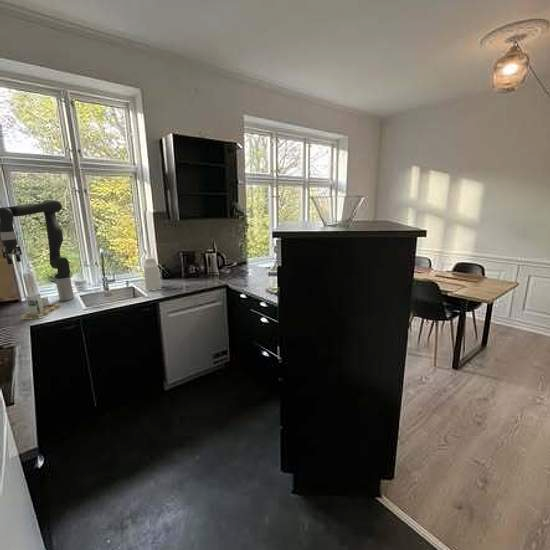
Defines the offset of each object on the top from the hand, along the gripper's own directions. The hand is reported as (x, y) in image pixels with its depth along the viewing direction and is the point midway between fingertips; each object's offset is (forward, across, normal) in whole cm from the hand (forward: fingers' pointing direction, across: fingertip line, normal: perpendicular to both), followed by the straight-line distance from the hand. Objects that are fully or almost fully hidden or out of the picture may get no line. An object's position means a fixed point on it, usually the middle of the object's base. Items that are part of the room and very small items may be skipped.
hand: (14, 263), depth 203 cm
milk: (+34, -37, +77) cm, 92 cm away
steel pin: (+34, +2, +14) cm, 37 cm away
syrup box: (+34, +12, +14) cm, 39 cm away
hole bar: (+34, +7, +14) cm, 38 cm away
